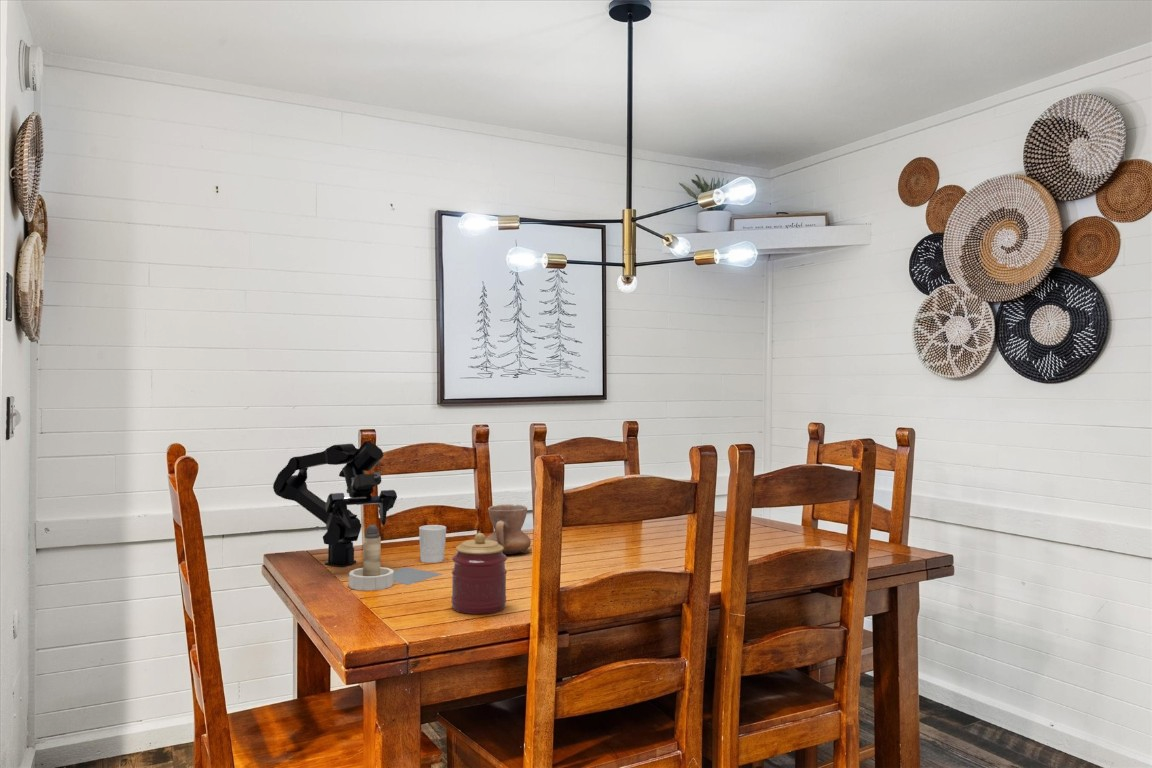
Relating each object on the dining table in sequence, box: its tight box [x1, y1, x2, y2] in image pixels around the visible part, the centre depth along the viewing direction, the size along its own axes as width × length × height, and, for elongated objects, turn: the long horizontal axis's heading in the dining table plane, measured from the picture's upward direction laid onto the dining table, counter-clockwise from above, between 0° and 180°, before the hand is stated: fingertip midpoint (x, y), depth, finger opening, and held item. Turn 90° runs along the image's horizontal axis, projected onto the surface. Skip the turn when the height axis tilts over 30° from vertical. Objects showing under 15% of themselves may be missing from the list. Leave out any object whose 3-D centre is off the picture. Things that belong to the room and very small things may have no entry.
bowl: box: [348, 566, 395, 592], centre depth 207 cm, size 11×11×4 cm
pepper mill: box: [362, 524, 382, 576], centre depth 207 cm, size 4×4×15 cm
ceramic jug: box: [485, 503, 532, 555], centre depth 250 cm, size 18×14×14 cm
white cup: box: [418, 524, 447, 564], centre depth 236 cm, size 8×8×10 cm
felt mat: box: [393, 566, 443, 586], centre depth 218 cm, size 14×14×1 cm
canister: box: [450, 532, 508, 615], centre depth 190 cm, size 13×13×18 cm
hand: (367, 526), depth 217 cm, fingers open, 9 cm apart
